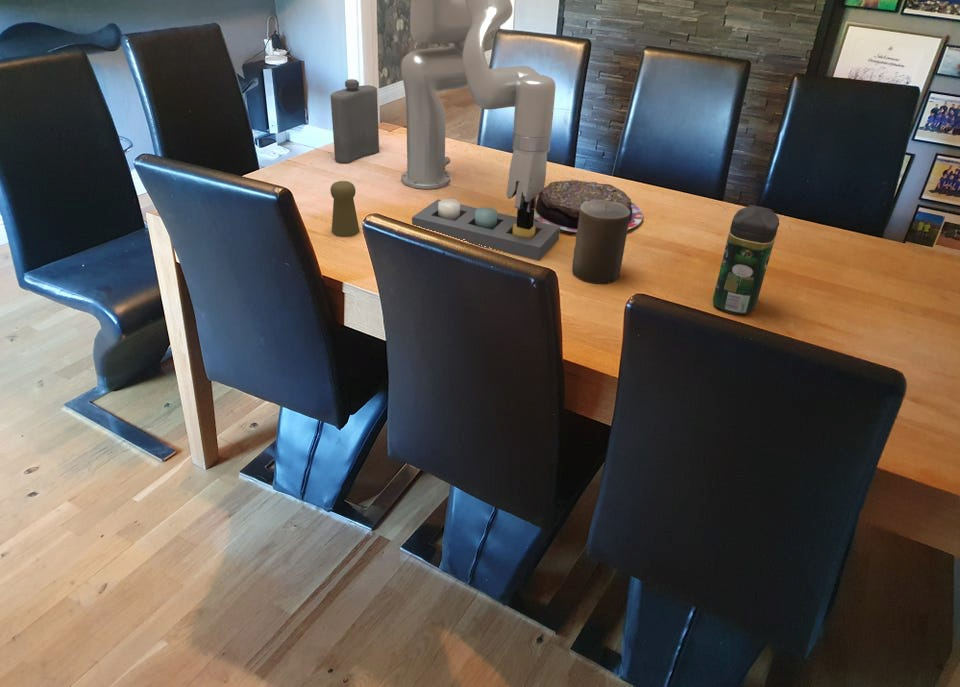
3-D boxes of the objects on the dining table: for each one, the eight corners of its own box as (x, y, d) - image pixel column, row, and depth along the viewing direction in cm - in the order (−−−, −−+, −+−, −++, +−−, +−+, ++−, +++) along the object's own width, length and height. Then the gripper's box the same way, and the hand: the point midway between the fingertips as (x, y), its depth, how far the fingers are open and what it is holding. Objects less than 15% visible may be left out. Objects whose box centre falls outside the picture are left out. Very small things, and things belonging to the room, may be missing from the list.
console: (437, 211, 166) (438, 199, 165) (558, 239, 156) (560, 226, 154) (412, 229, 157) (411, 217, 155) (538, 260, 147) (539, 247, 145)
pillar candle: (608, 289, 138) (620, 216, 130) (562, 274, 142) (572, 203, 134) (627, 270, 145) (639, 201, 137) (583, 257, 149) (593, 189, 141)
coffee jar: (717, 287, 140) (740, 198, 130) (759, 298, 137) (785, 207, 127) (706, 309, 133) (730, 216, 123) (750, 320, 130) (777, 226, 120)
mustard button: (517, 234, 156) (518, 220, 154) (537, 239, 154) (538, 225, 152) (508, 243, 152) (509, 228, 150) (529, 248, 151) (530, 233, 149)
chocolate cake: (598, 186, 185) (602, 162, 182) (667, 228, 164) (672, 201, 161) (503, 201, 174) (505, 175, 171) (564, 247, 154) (567, 219, 150)
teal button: (480, 220, 158) (481, 205, 156) (500, 224, 156) (500, 210, 155) (470, 227, 154) (471, 213, 153) (490, 232, 153) (491, 217, 151)
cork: (354, 238, 152) (351, 189, 146) (327, 235, 153) (323, 186, 147) (363, 227, 157) (361, 179, 151) (337, 224, 158) (334, 176, 152)
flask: (367, 147, 203) (364, 74, 192) (382, 151, 200) (380, 77, 189) (329, 160, 192) (323, 83, 181) (344, 165, 190) (339, 87, 179)
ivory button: (444, 211, 161) (444, 197, 159) (463, 216, 160) (463, 201, 158) (434, 219, 157) (434, 204, 156) (453, 223, 156) (453, 209, 154)
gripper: (528, 129, 148) (521, 211, 158) (498, 148, 137) (494, 236, 147) (562, 134, 146) (553, 218, 156) (535, 155, 134) (527, 244, 144)
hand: (524, 226), depth 151 cm, fingers closed
